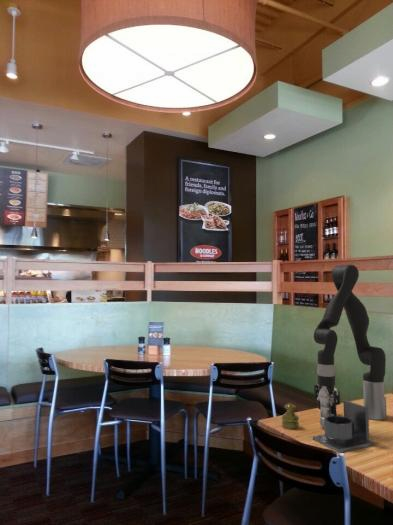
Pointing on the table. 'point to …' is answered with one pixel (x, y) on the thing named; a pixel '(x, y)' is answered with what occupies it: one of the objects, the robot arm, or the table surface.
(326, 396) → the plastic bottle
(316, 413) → the table surface
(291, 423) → the brass knob
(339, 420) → the cup bracket
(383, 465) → the table surface
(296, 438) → the table surface
